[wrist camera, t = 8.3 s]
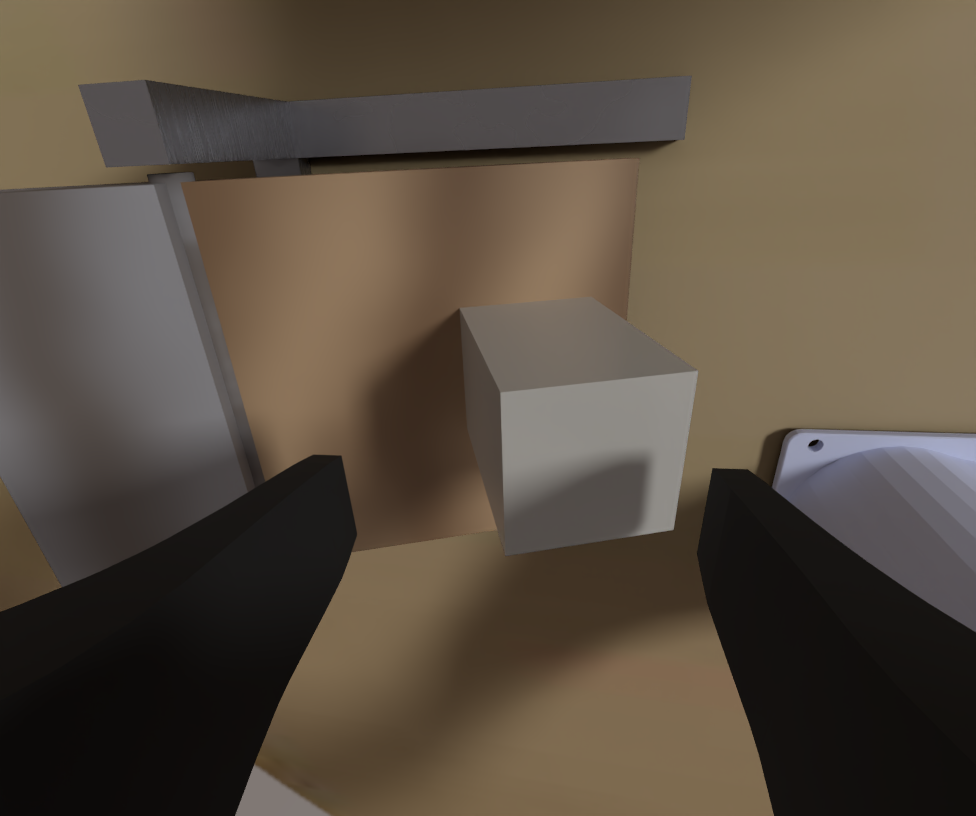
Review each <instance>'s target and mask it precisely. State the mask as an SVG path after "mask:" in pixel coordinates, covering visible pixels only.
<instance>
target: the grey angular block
mask: <svg viewBox="0 0 976 816" xmlns="http://www.w3.org/2000/svg"><path fill="white" fill-rule="evenodd" d="M691 77H692V76H678V77H663V78H647V79H632V80H616V81H600V82H585V83H569V84H554V85H538V86H523V87H507V88H492V89H476V90H461V91H445V92H430V93H414V94H399V95H383V96H368V97H352V98H337V99H321V100H305V101H290V102H286V101H280V100H273V99H267V98H260V97H253V96H247V95H240V94H234V93H227V92H221V91H214V90H208V89H201V88H194V87H188V86H181V85H175V84H168V83H162V82H155V81H149V80H138V81H124V82H111V83H97V84H84V85H78V86H79V89H80V92H81V95H82V98H83V101H84V103H85V106H86V109H87V112H88V115H89V118H90V121H91V124H92V127H93V130H94V133H95V136H96V139H97V142H98V145H99V148H100V151H101V154H102V157H103V159H104V162H105V165H106V167H122V166H143V165H164V164H185V163H205V162H225V161H246V160H253V163H254V167H255V172H256V176H257V177H273V176H292V175H311V168H310V162H309V157H328V156H349V155H370V154H391V153H412V152H433V151H454V150H475V149H496V148H517V147H538V146H559V145H580V144H601V143H622V142H643V141H664V140H684V139H685V130H686V121H687V112H688V104H689V95H690V86H691Z"/></svg>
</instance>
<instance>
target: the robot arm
mask: <svg viewBox="0 0 976 816" xmlns="http://www.w3.org/2000/svg"><path fill="white" fill-rule="evenodd" d="M817 439H818V440H819V441H818V443H817V444H816V445H814V446H808V445H809V443H810V442H811V441H813V440H817ZM356 537H357V530H356V525H355V520H354V515H353V510H352V505H351V500H350V495H349V490H348V485H347V480H346V475H345V470H344V465H343V460H342V455H314V454H313V455H311V456H309V457H307V458H305V459H303V460H301V461H300V462H298V463H296V464H294V465H292V466H291V467H289V468H287V469H286V470H284V471H282V472H281V473H279V474H277V475H276V476H274V477H272V478H271V479H269V480H267V481H266V482H264V483H262V484H261V485H259V486H257V487H256V488H254V489H252V490H251V491H249V492H248V493H246V494H244V495H243V496H241V497H239V498H238V499H236V500H234V501H233V502H231V503H229V504H228V505H226V506H224V507H223V508H221V509H219V510H217V511H216V512H214V513H212V514H210V515H208V516H207V517H205V518H203V519H201V520H199V521H198V522H196V523H194V524H192V525H191V526H189V527H187V528H185V529H183V530H182V531H180V532H178V533H176V534H174V535H173V536H171V537H169V538H167V539H165V540H163V541H161V542H160V543H158V544H156V545H154V546H152V547H150V548H148V549H146V550H144V551H142V552H140V553H138V554H136V555H134V556H131V557H129V558H127V559H125V560H123V561H121V562H119V563H117V564H115V565H112V566H110V567H108V568H106V569H104V570H102V571H100V572H97V573H95V574H93V575H91V576H88V577H86V578H83V579H81V580H79V581H76V582H74V583H71V584H69V585H66V586H64V587H62V588H59V589H57V590H54V591H52V592H49V593H47V594H44V595H42V596H40V597H37V598H35V599H32V600H30V601H27V602H25V603H23V604H20V605H18V606H15V607H12V608H10V609H7V610H4V611H2V612H0V816H235V814H236V811H237V809H238V806H239V803H240V801H241V798H242V795H243V793H244V790H245V787H246V785H247V782H248V779H249V776H250V774H251V771H252V769H253V766H254V763H255V761H256V758H257V756H258V753H259V751H260V748H261V746H262V743H263V741H264V738H265V736H266V733H267V731H268V728H269V726H270V723H271V721H272V718H273V716H274V713H275V711H276V708H277V706H278V704H279V702H280V700H281V697H282V695H283V693H284V691H285V689H286V687H287V685H288V683H289V680H290V678H291V677H292V675H293V673H294V671H295V669H296V667H297V665H298V663H299V661H300V659H301V657H302V655H303V653H304V652H305V650H306V648H307V646H308V644H309V642H310V640H311V638H312V636H313V634H314V632H315V630H316V628H317V626H318V625H319V623H320V621H321V619H322V617H323V615H324V613H325V611H326V609H327V607H328V605H329V603H330V601H331V599H332V597H333V595H334V593H335V591H336V589H337V587H338V585H339V583H340V581H341V579H342V577H343V574H344V571H345V569H346V566H347V563H348V561H349V558H350V555H351V552H352V549H353V546H354V543H355V540H356ZM697 556H698V561H699V566H700V571H701V576H702V581H703V586H704V590H705V595H706V599H707V604H708V607H709V610H710V613H711V616H712V619H713V621H714V624H715V627H716V630H717V633H718V636H719V639H720V642H721V645H722V648H723V650H724V653H725V656H726V659H727V662H728V665H729V667H730V670H731V673H732V676H733V679H734V682H735V684H736V687H737V690H738V693H739V696H740V699H741V702H742V704H743V707H744V710H745V713H746V716H747V719H748V721H749V724H750V727H751V731H752V734H753V737H754V740H755V744H756V747H757V750H758V753H759V757H760V761H761V765H762V769H763V773H764V777H765V781H766V785H767V789H768V793H769V797H770V801H771V805H772V809H773V813H774V816H976V434H962V433H927V432H891V431H855V430H819V429H797V430H793V431H791V432H789V433H788V434H787V435H786V436H785V438H784V440H783V444H782V449H781V453H780V457H779V461H778V465H777V469H776V473H775V477H774V481H773V485H772V488H771V487H770V486H769V485H768V484H766V483H765V482H764V481H763V480H761V479H760V478H759V477H757V476H756V475H755V474H753V473H752V472H750V471H749V470H745V469H717V468H713V469H712V474H711V480H710V485H709V491H708V496H707V502H706V507H705V513H704V518H703V524H702V529H701V535H700V540H699V545H698V551H697Z"/></svg>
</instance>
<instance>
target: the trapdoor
mask: <svg viewBox="0 0 976 816" xmlns="http://www.w3.org/2000/svg"><path fill="white" fill-rule="evenodd" d="M638 170H639V158H617V159H598V160H579V161H560V162H541V163H522V164H503V165H483V166H464V167H445V168H426V169H407V170H388V171H369V172H350V173H331V174H311V175H292V176H273V177H254V178H235V179H216V180H197V181H195V177H194V173H193V172H181V173H162V174H148V175H147V176H148V180H149V182H141V183H122V184H103V185H84V186H65V187H45V188H26V189H7V190H0V477H1V479H2V480H3V482H4V484H5V486H6V487H7V489H8V491H9V493H10V495H11V496H12V498H13V500H14V502H15V504H16V505H17V507H18V509H19V511H20V513H21V514H22V516H23V518H24V520H25V522H26V523H27V525H28V527H29V529H30V530H31V532H32V534H33V536H34V538H35V539H36V541H37V543H38V545H39V547H40V548H41V550H42V552H43V554H44V556H45V557H46V559H47V561H48V563H49V565H50V566H51V568H52V570H53V572H54V573H55V575H56V577H57V579H58V581H59V582H60V584H61V586H62V587H64V586H66V585H69V584H71V583H74V582H76V581H79V580H81V579H83V578H86V577H88V576H91V575H93V574H95V573H97V572H100V571H102V570H104V569H106V568H108V567H110V566H112V565H115V564H117V563H119V562H121V561H123V560H125V559H127V558H129V557H131V556H134V555H136V554H138V553H140V552H142V551H144V550H146V549H148V548H150V547H152V546H154V545H156V544H158V543H160V542H161V541H163V540H165V539H167V538H169V537H171V536H173V535H174V534H176V533H178V532H180V531H182V530H183V529H185V528H187V527H189V526H191V525H192V524H194V523H196V522H198V521H199V520H201V519H203V518H205V517H207V516H208V515H210V514H212V513H214V512H216V511H217V510H219V509H221V508H223V507H224V506H226V505H228V504H229V503H231V502H233V501H234V500H236V499H238V498H239V497H241V496H243V495H244V494H246V493H248V492H249V491H251V490H252V489H254V488H256V487H257V486H259V485H261V484H262V483H264V482H266V481H267V480H269V479H271V478H272V477H274V476H276V475H277V474H279V473H281V472H282V471H284V470H286V469H287V468H289V467H291V466H292V465H294V464H296V463H298V462H300V461H301V460H303V459H305V458H307V457H309V456H311V455H313V454H314V455H342V460H343V465H344V470H345V475H346V480H347V485H348V490H349V495H350V500H351V505H352V510H353V515H354V520H355V525H356V530H357V537H356V540H355V543H354V546H353V549H352V552H356V551H362V550H369V549H375V548H382V547H389V546H395V545H402V544H408V543H415V542H421V541H428V540H434V539H441V538H448V537H454V536H461V535H467V534H474V533H480V532H487V531H494V530H497V527H496V524H495V520H494V517H493V514H492V510H491V507H490V504H489V500H488V497H487V494H486V490H485V487H484V484H483V480H482V477H481V473H480V470H479V467H478V463H477V460H476V457H475V453H474V450H473V447H472V443H471V440H470V437H469V433H468V430H467V419H466V403H465V387H464V371H463V355H462V340H461V324H460V308H465V307H477V306H488V305H500V304H512V303H524V302H535V301H547V300H559V299H570V298H582V297H593V298H594V299H595V300H597V301H598V302H600V303H601V304H603V305H604V306H606V307H607V308H608V309H610V310H611V311H613V312H614V313H616V314H617V315H619V316H620V317H621V318H623V319H624V320H627V308H628V295H629V283H630V270H631V258H632V245H633V233H634V220H635V208H636V195H637V183H638Z"/></svg>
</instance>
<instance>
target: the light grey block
mask: <svg viewBox="0 0 976 816" xmlns="http://www.w3.org/2000/svg"><path fill="white" fill-rule="evenodd" d="M460 324H461V340H462V355H463V371H464V387H465V403H466V419H467V430H468V433H469V437H470V440H471V443H472V447H473V450H474V453H475V457H476V460H477V463H478V467H479V470H480V473H481V477H482V480H483V484H484V487H485V490H486V494H487V497H488V500H489V504H490V507H491V510H492V514H493V517H494V520H495V524H496V527H497V530H498V534H499V537H500V540H501V544H502V547H503V550H504V554H505V556H509V555H516V554H522V553H529V552H535V551H542V550H548V549H554V548H561V547H567V546H574V545H580V544H587V543H593V542H599V541H606V540H612V539H619V538H625V537H631V536H638V535H644V534H651V533H657V532H664V531H670V530H674V524H675V517H676V511H677V504H678V498H679V492H680V485H681V479H682V472H683V466H684V460H685V453H686V447H687V440H688V434H689V428H690V421H691V415H692V408H693V402H694V396H695V389H696V383H697V376H698V370H696V369H695V368H694V367H692V366H691V365H689V364H688V363H686V362H685V361H683V360H682V359H681V358H679V357H678V356H676V355H675V354H673V353H672V352H671V351H669V350H668V349H666V348H665V347H663V346H662V345H660V344H659V343H658V342H656V341H655V340H653V339H652V338H650V337H649V336H647V335H646V334H645V333H643V332H642V331H640V330H639V329H637V328H636V327H634V326H633V325H632V324H630V323H629V322H627V321H626V320H624V319H623V318H621V317H620V316H619V315H617V314H616V313H614V312H613V311H611V310H610V309H608V308H607V307H606V306H604V305H603V304H601V303H600V302H598V301H597V300H595V299H594V298H593V297H582V298H570V299H559V300H547V301H535V302H524V303H512V304H500V305H488V306H477V307H465V308H460Z"/></svg>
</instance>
